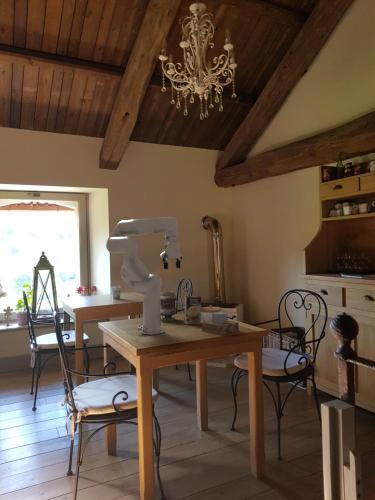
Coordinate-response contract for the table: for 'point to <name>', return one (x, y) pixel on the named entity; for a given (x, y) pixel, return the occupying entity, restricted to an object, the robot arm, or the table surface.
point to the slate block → (219, 317)
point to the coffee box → (192, 310)
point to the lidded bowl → (208, 313)
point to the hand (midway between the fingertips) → (172, 268)
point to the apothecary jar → (168, 305)
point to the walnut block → (220, 327)
